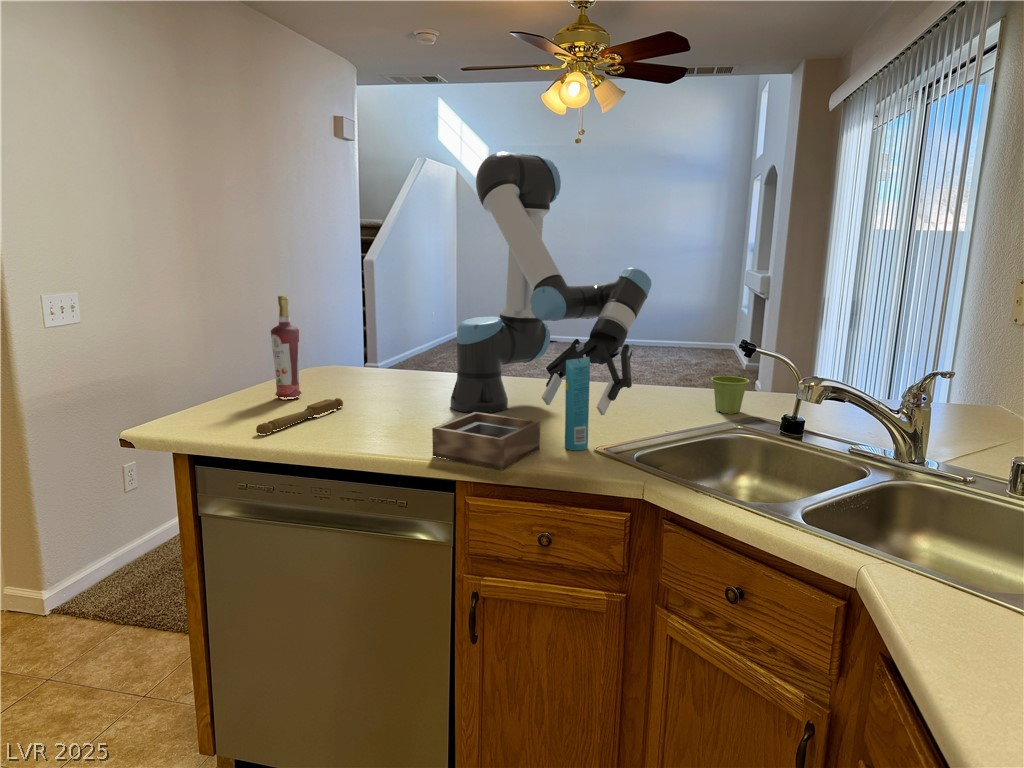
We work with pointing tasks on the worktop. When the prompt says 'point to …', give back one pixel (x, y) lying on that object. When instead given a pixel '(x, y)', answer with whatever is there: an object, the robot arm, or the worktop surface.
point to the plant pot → (729, 393)
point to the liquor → (286, 353)
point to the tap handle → (300, 415)
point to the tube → (577, 403)
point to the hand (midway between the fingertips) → (571, 406)
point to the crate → (486, 440)
